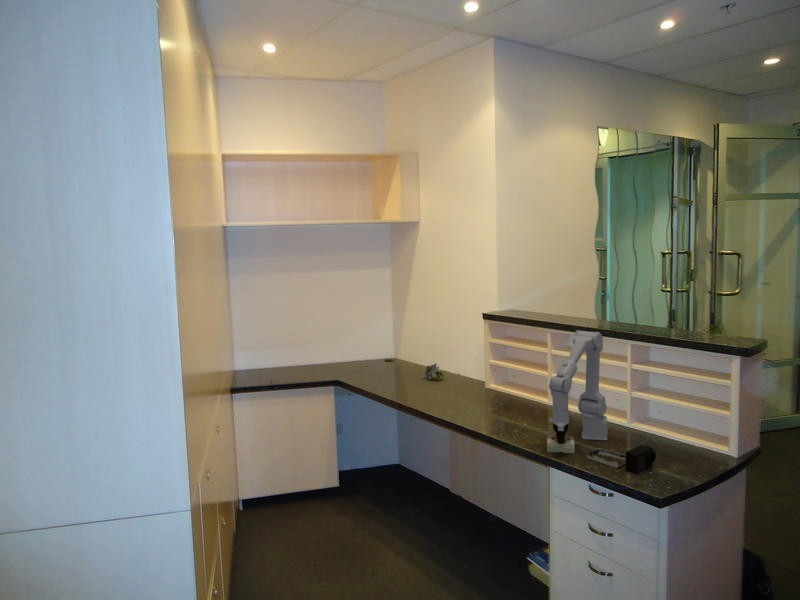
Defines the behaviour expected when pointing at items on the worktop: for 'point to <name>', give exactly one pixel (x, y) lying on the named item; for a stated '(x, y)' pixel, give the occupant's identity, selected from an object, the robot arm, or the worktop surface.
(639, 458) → the digital camera
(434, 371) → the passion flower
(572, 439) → the board
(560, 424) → the robot arm
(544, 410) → the worktop surface
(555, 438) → the block
